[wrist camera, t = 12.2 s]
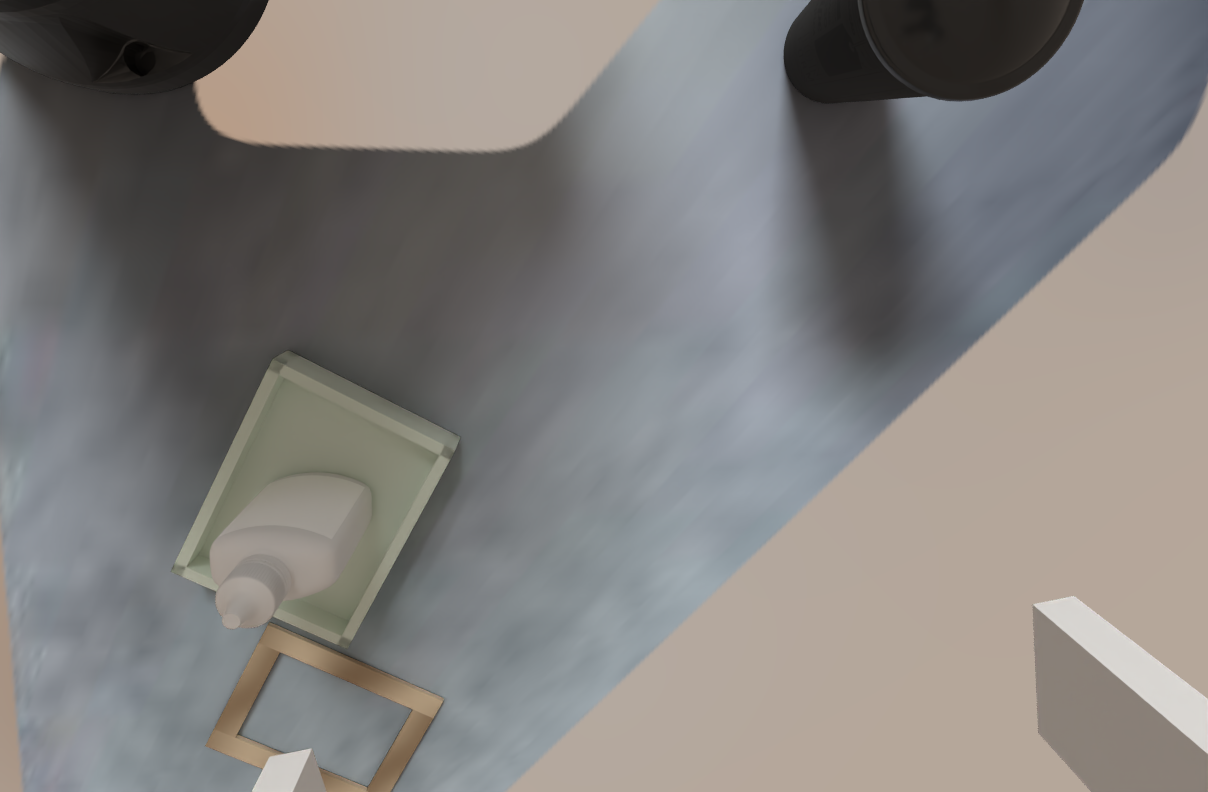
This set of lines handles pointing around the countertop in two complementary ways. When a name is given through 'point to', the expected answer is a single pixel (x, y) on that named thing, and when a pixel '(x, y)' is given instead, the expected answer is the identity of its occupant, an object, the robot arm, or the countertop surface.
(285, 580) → the eye dropper bottle
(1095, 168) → the countertop surface
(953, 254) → the countertop surface
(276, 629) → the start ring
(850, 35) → the drinking cup
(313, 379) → the tray
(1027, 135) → the countertop surface
